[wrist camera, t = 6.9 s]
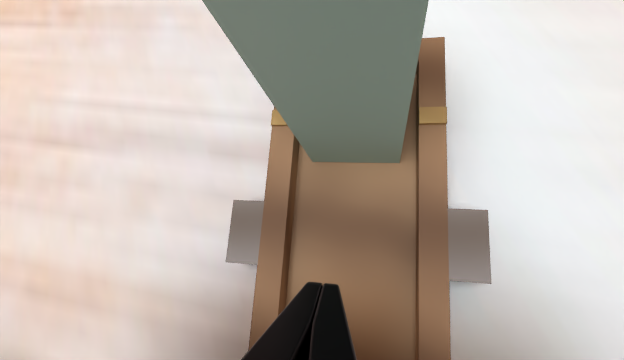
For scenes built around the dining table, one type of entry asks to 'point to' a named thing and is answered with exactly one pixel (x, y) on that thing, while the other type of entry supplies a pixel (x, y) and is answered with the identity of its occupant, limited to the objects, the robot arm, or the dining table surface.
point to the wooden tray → (367, 232)
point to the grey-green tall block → (332, 69)
